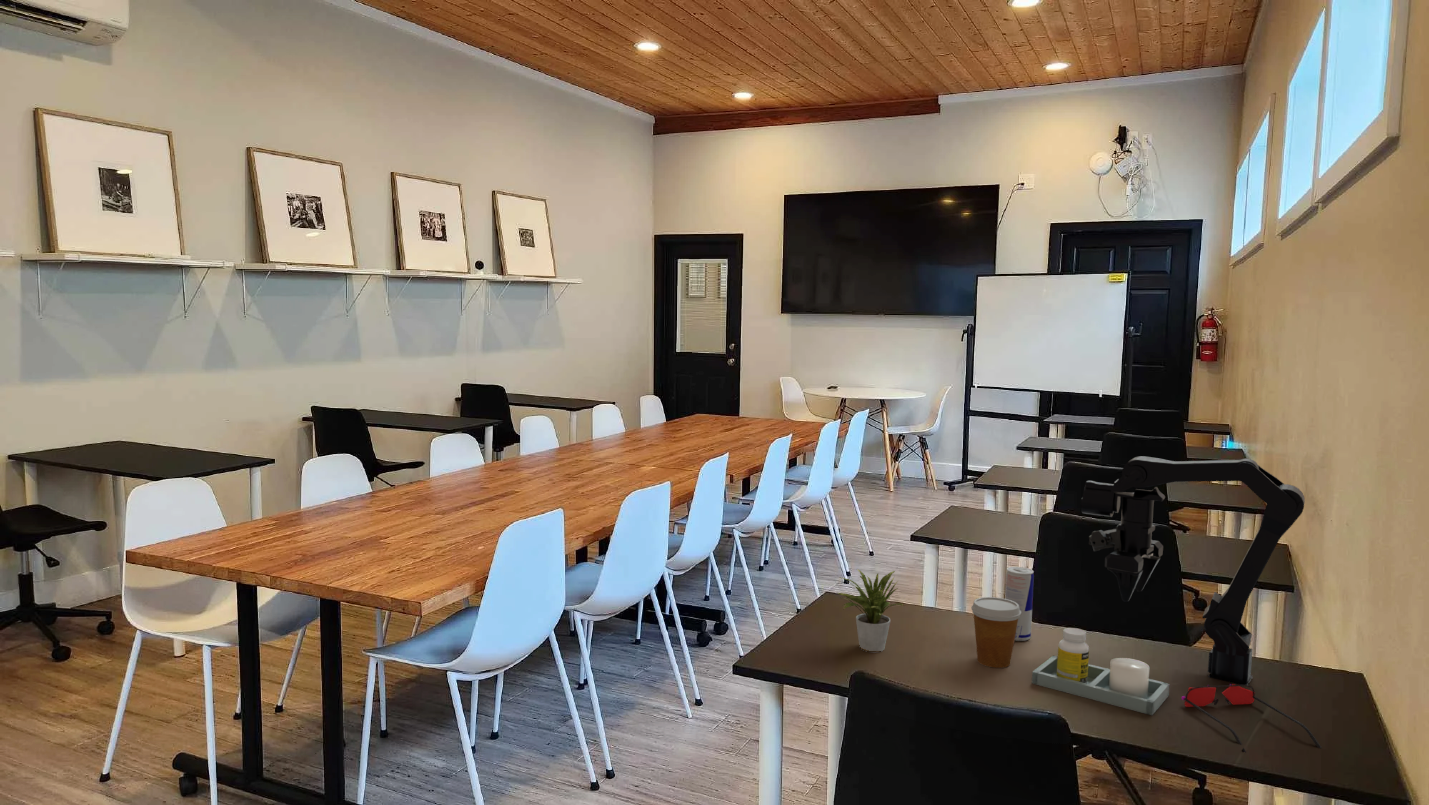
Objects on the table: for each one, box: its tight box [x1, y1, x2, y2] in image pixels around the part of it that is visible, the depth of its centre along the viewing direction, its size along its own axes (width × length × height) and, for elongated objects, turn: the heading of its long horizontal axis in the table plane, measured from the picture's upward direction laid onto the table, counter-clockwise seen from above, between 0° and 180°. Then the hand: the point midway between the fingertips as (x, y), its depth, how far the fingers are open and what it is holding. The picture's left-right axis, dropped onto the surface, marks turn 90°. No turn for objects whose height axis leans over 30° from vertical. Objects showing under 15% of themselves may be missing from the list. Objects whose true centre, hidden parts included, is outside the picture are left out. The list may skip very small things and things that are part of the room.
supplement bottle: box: [1057, 627, 1090, 684], centre depth 175 cm, size 5×5×10 cm
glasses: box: [1181, 683, 1322, 753], centre depth 158 cm, size 14×16×5 cm
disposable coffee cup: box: [970, 596, 1021, 669], centre depth 186 cm, size 10×10×12 cm
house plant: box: [837, 568, 903, 652], centre depth 194 cm, size 14×14×16 cm
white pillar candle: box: [1109, 657, 1150, 699], centre depth 168 cm, size 6×6×6 cm
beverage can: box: [1004, 566, 1035, 642], centre depth 200 cm, size 6×6×15 cm
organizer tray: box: [1031, 655, 1170, 716], centre depth 172 cm, size 21×11×3 cm, turn 50°
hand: (1132, 596), depth 188 cm, fingers open, 9 cm apart
